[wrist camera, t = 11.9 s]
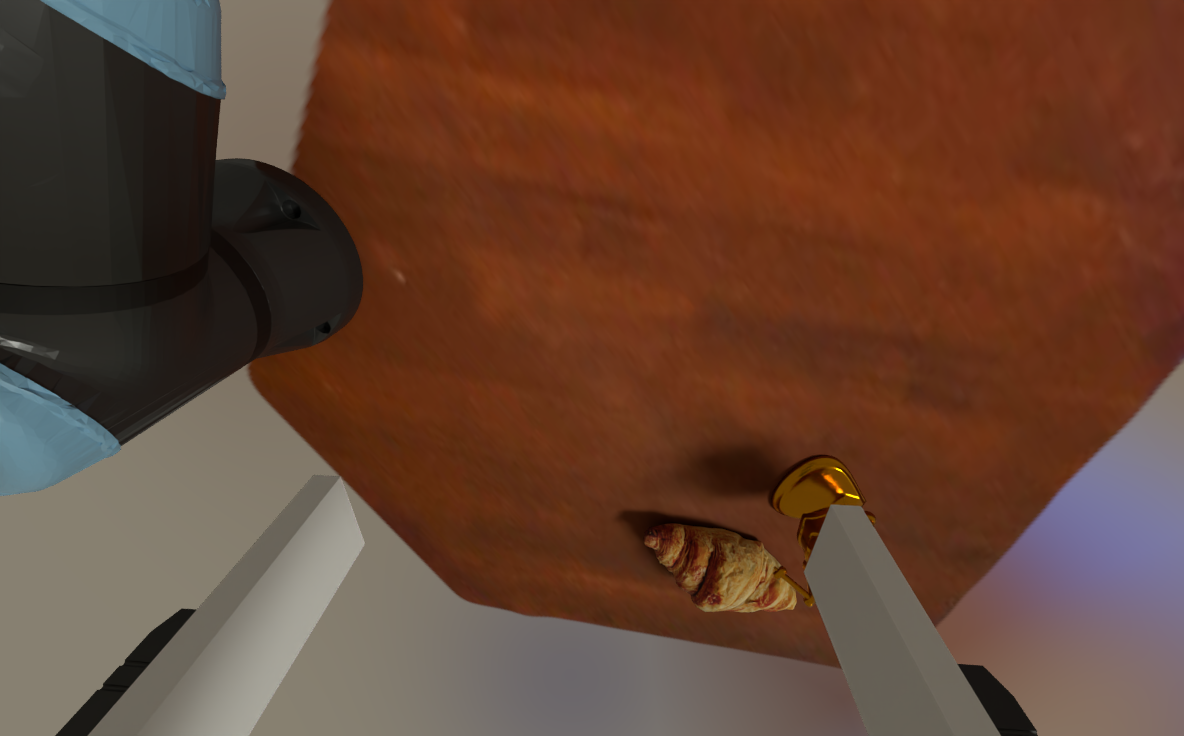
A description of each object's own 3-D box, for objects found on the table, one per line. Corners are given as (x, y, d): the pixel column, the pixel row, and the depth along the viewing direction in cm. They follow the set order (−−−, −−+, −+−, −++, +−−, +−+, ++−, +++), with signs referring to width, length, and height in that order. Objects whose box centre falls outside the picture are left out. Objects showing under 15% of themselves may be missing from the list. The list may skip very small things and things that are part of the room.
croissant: (796, 550, 55) (844, 588, 47) (759, 622, 55) (801, 671, 47) (654, 483, 51) (681, 511, 43) (614, 560, 51) (633, 603, 43)
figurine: (798, 440, 42) (854, 544, 32) (886, 481, 44) (966, 593, 34) (745, 496, 46) (779, 605, 36) (828, 532, 48) (883, 646, 38)
